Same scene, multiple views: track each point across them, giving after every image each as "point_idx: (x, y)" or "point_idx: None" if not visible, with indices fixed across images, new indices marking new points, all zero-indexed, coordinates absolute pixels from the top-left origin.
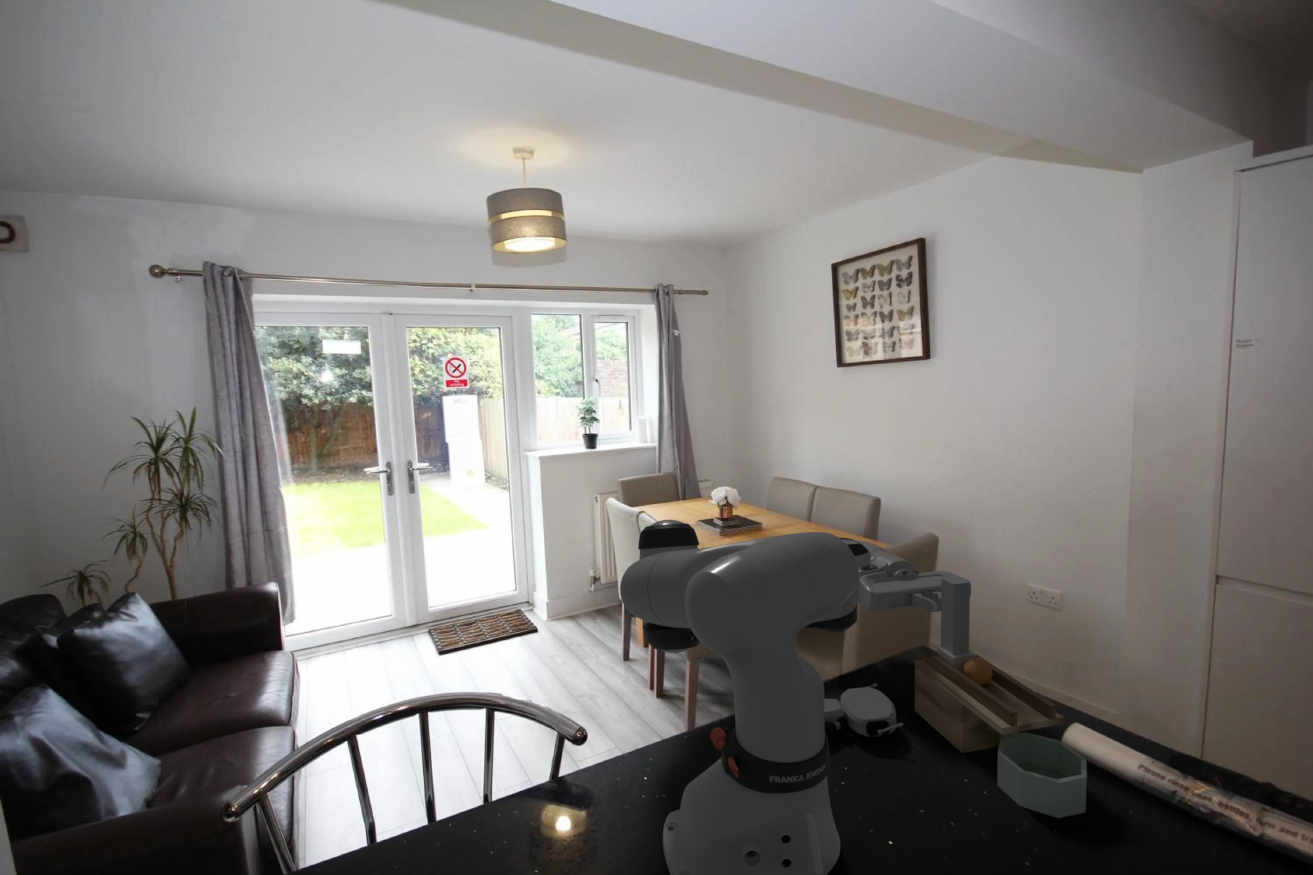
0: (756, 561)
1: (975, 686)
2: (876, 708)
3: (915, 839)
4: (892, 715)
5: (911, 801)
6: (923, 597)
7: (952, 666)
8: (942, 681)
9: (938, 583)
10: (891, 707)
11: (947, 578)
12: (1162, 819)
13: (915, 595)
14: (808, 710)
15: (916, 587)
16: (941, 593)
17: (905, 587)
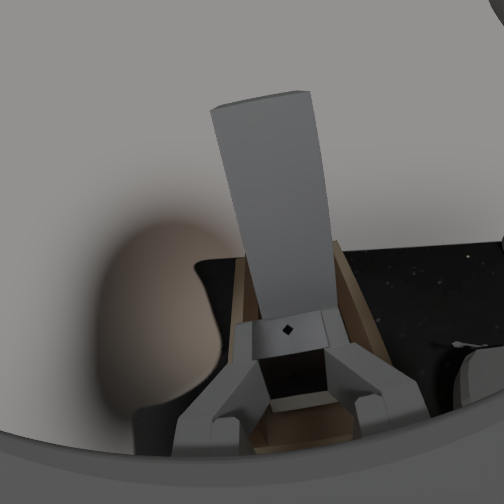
0: None
1: (336, 265)
2: (493, 373)
3: (448, 259)
4: (468, 359)
5: (447, 290)
6: (364, 363)
7: (346, 319)
8: (376, 330)
9: (94, 490)
10: (468, 374)
11: (280, 96)
12: (217, 284)
13: (416, 384)
14: None
15: (378, 452)
16: (322, 174)
17: (490, 442)
